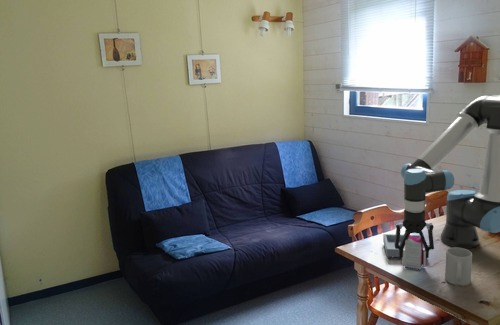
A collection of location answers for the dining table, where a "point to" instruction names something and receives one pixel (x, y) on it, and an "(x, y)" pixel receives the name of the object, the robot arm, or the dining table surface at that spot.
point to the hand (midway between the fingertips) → (413, 264)
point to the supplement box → (413, 253)
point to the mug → (458, 266)
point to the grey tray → (390, 247)
